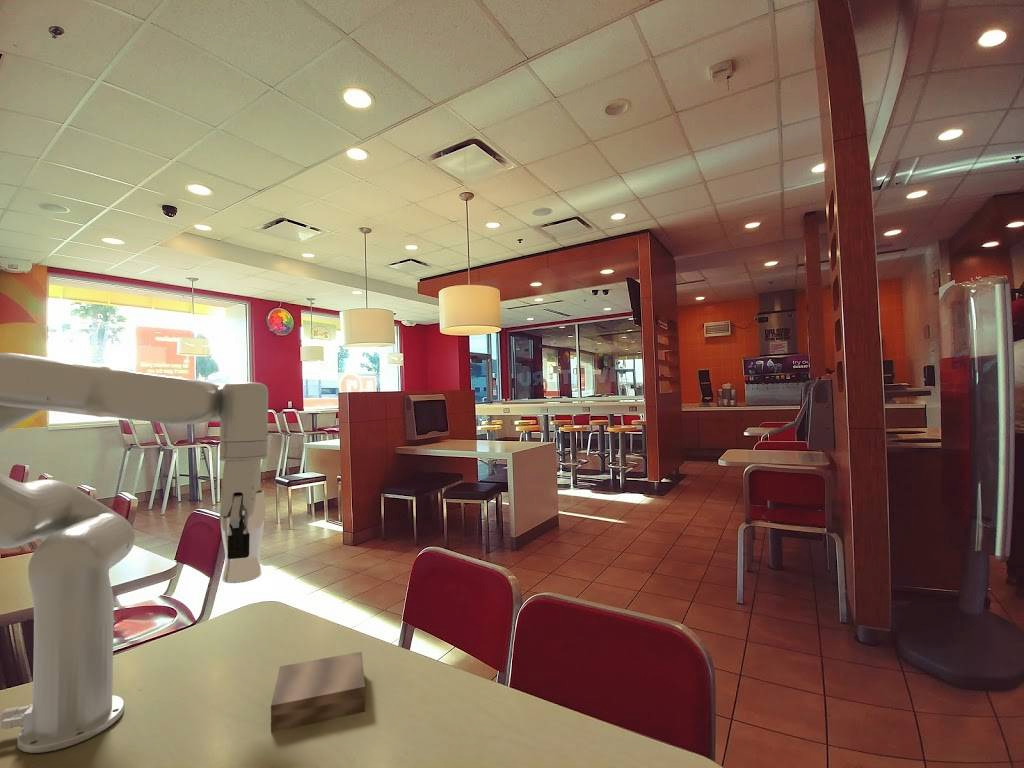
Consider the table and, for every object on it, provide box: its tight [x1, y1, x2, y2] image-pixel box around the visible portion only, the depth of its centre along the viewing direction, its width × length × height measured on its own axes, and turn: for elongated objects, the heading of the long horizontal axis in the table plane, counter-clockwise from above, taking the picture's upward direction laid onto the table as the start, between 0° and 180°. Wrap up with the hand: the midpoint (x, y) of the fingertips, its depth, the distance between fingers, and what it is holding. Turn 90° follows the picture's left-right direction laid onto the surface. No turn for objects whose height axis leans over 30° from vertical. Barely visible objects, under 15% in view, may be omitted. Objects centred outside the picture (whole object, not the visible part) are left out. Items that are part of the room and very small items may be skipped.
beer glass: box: [220, 489, 266, 584], centre depth 86 cm, size 7×7×15 cm
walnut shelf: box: [270, 651, 366, 733], centre depth 83 cm, size 14×12×4 cm
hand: (242, 551), depth 86 cm, fingers closed on beer glass, 6 cm apart
